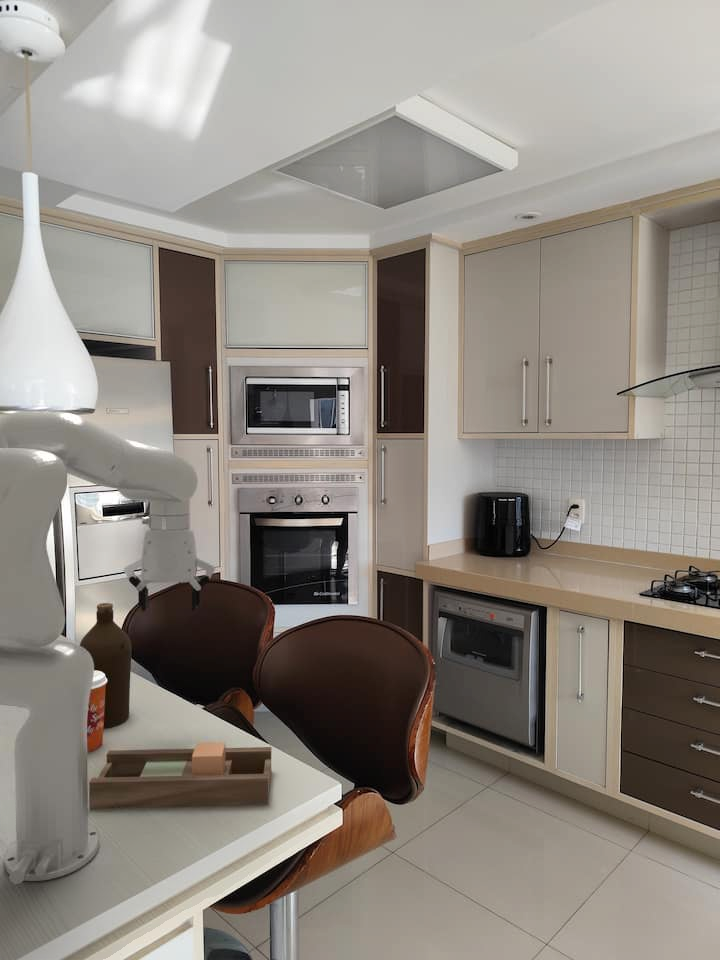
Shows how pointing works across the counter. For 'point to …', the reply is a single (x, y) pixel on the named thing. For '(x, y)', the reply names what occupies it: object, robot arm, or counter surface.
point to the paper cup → (96, 711)
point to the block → (208, 759)
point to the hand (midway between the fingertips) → (169, 609)
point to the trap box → (180, 779)
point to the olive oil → (111, 663)
